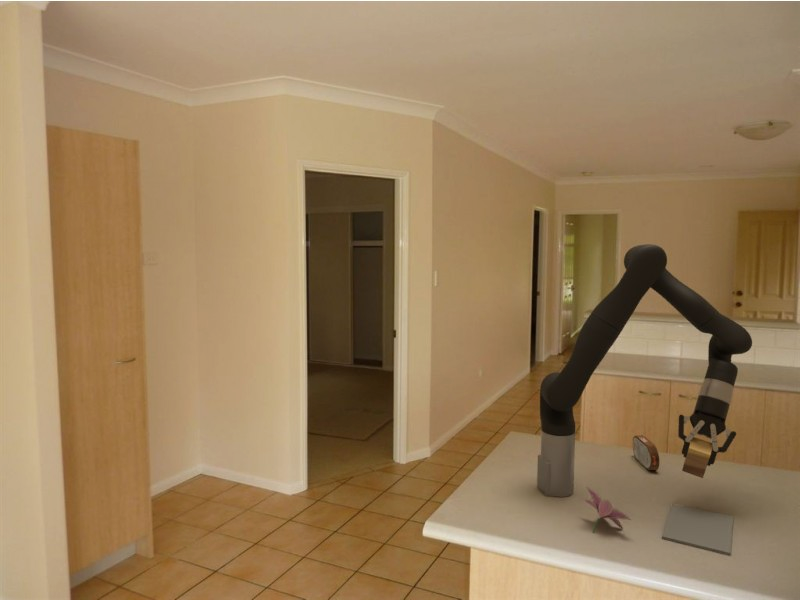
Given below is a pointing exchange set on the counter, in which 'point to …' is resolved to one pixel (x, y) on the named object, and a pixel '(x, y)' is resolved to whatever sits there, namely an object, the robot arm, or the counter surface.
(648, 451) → the tin
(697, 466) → the block
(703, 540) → the mat
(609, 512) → the lily
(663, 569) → the counter surface
